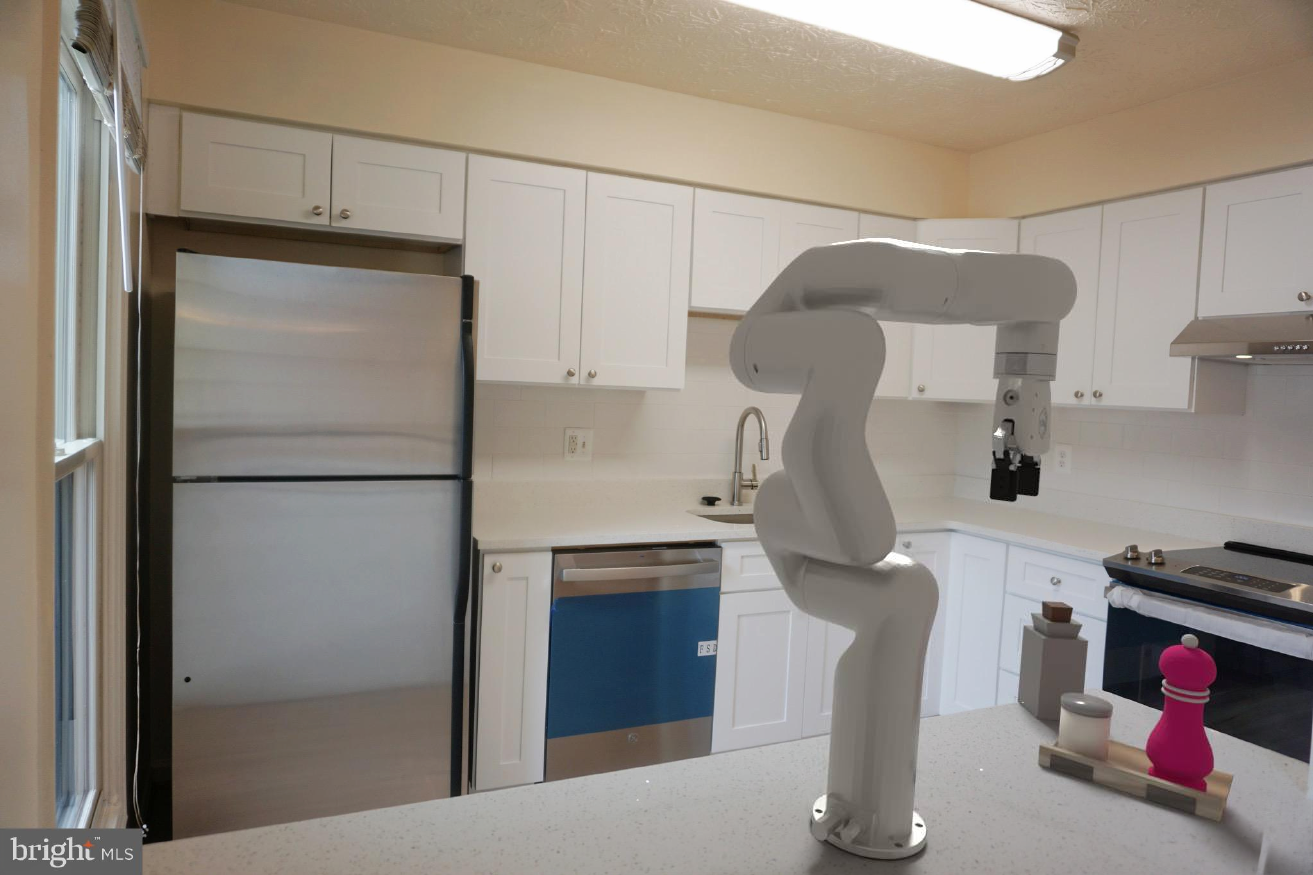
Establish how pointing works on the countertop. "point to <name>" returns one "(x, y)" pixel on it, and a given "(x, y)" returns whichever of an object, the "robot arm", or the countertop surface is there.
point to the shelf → (1140, 778)
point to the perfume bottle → (1051, 660)
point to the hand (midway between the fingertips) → (1014, 497)
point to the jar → (1085, 725)
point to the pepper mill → (1183, 717)
